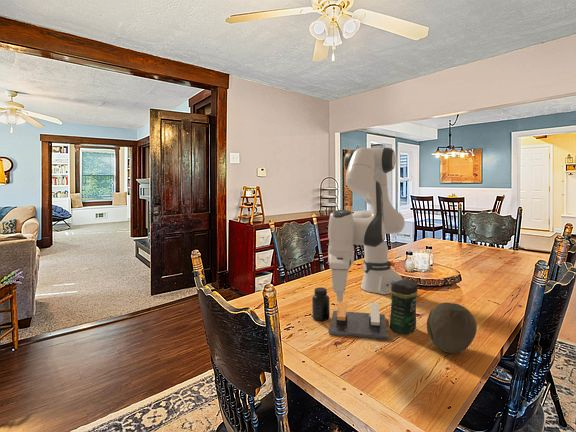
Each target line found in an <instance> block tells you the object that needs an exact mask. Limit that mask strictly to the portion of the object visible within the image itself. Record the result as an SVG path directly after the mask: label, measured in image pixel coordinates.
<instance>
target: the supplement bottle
mask: <svg viewBox="0 0 576 432" xmlns="http://www.w3.org/2000/svg"><path fill="white" fill-rule="evenodd" d="M313 292H314V295H313V296H312V298H311V305H312V306H311V310H312V311H311V312H312V313H311V314H312V319H313V321H315V322H321V323H322V322H327V321H329V320H330V317H331V315H330V313H331V312H330V310H331V309H330V296H329V295H328V291H327V288H326V287H316V288H314V291H313Z"/></svg>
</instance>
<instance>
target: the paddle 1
mask: <svg viewBox="0 0 576 432" xmlns="http://www.w3.org/2000/svg"><path fill="white" fill-rule="evenodd" d="M347 307H348V302H346V301H342V302H338V306H337V311H338V312H336V315H337V320H343V321H345V319H346V315H348V313H346V312H347Z"/></svg>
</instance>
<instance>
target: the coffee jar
mask: <svg viewBox="0 0 576 432" xmlns="http://www.w3.org/2000/svg"><path fill="white" fill-rule="evenodd" d="M390 294H391V295H390V296H391V304H390V318H389V329H390V330H391V331H392V332H394V333H395V334H397V335H404V336H406V335H407V336H408V335H410V334H412V333H414V332H415V331H416V329H417V297H418V283H417V281H415V280H414V279H409V278H406V277H405V278H402V280H399V281H396V282H394V283H392V285H391V293H390Z"/></svg>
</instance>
